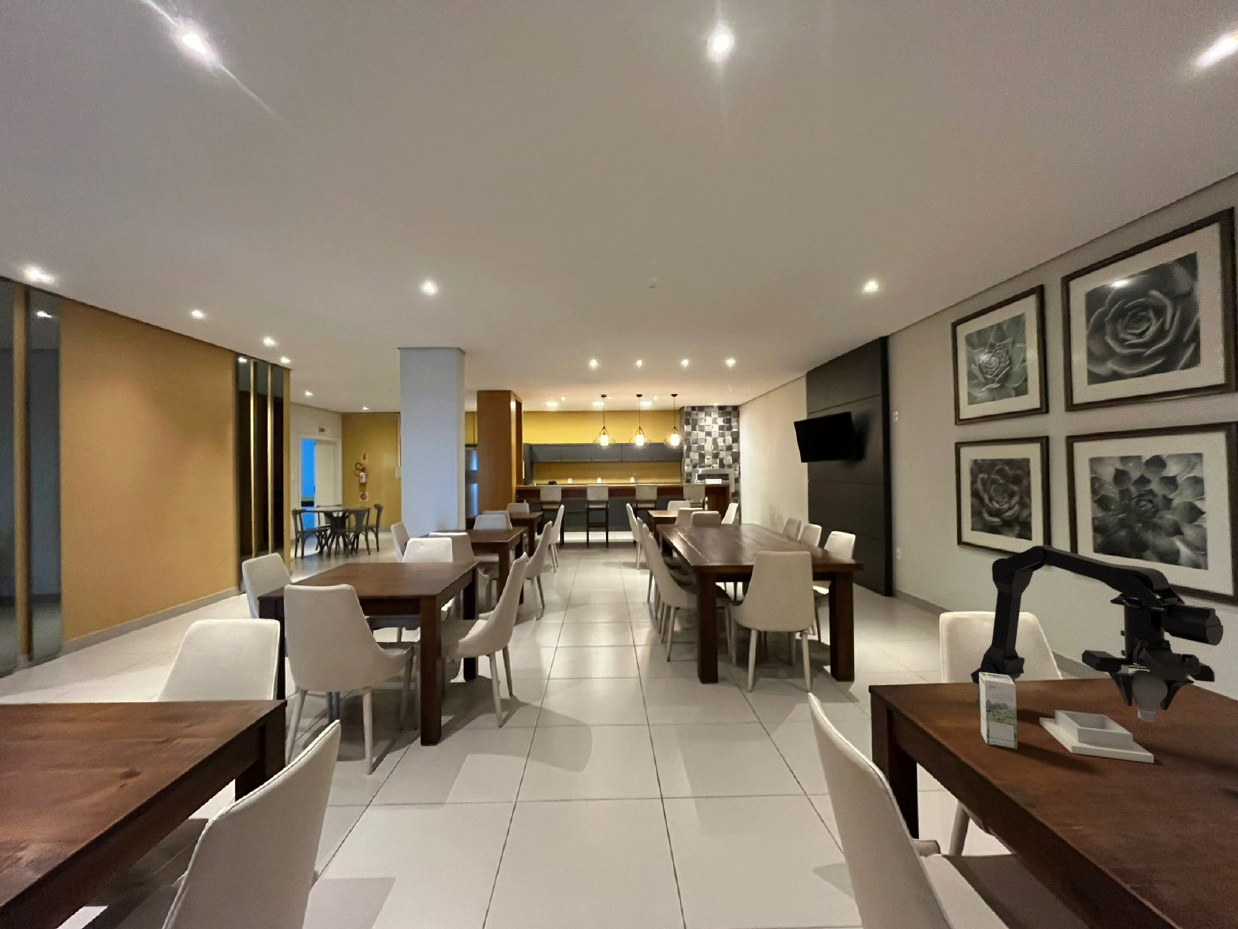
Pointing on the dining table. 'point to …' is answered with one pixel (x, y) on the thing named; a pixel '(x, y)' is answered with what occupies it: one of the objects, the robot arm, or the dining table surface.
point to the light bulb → (1147, 693)
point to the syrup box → (998, 710)
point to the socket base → (1094, 736)
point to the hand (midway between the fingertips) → (1146, 707)
